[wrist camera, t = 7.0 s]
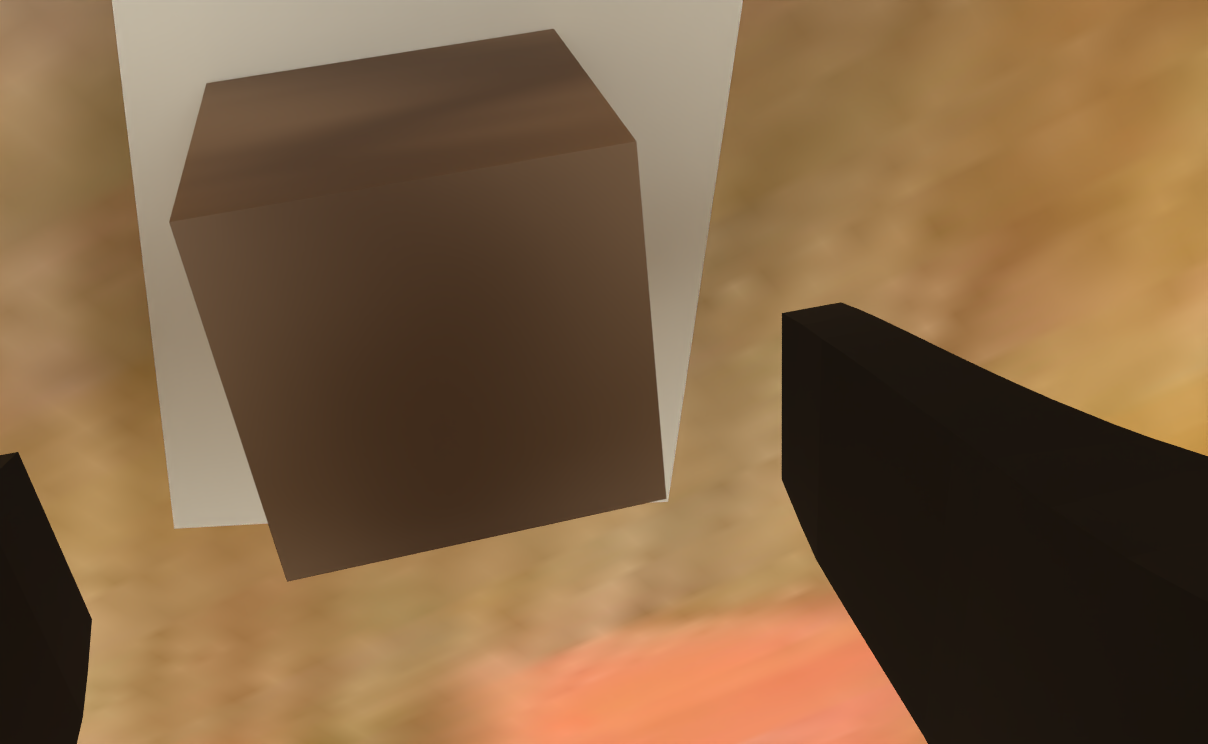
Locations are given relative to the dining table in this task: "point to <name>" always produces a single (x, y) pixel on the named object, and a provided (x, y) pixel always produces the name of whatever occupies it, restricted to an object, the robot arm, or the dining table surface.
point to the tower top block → (382, 27)
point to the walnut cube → (425, 296)
